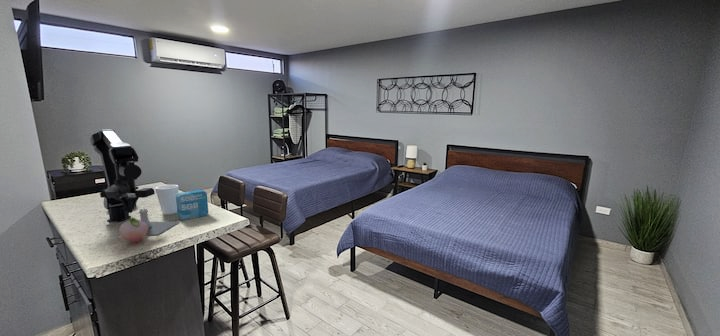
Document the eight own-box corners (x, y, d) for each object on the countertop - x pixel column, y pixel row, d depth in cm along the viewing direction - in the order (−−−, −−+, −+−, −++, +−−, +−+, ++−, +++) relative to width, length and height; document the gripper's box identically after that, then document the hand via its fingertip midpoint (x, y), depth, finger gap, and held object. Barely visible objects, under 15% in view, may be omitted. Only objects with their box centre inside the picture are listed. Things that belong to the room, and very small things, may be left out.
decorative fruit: (116, 244, 111) (112, 218, 110) (141, 236, 118) (138, 212, 117) (127, 250, 107) (123, 223, 105) (153, 241, 113) (150, 216, 112)
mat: (118, 235, 119) (118, 234, 119) (143, 222, 133) (143, 221, 133) (158, 235, 119) (158, 234, 119) (179, 222, 133) (179, 221, 133)
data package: (180, 221, 135) (177, 195, 133) (178, 218, 138) (175, 193, 136) (208, 215, 143) (206, 190, 141) (205, 212, 147) (203, 189, 144)
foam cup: (183, 208, 153) (180, 183, 150) (178, 214, 144) (175, 188, 142) (161, 210, 150) (158, 185, 147) (155, 216, 141) (152, 189, 139)
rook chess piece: (142, 225, 128) (140, 208, 127) (154, 225, 129) (151, 207, 127) (136, 229, 124) (134, 211, 122) (148, 229, 124) (145, 211, 123)
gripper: (84, 180, 114) (91, 219, 117) (133, 180, 114) (138, 219, 117) (109, 174, 125) (114, 210, 128) (153, 174, 125) (157, 210, 128)
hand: (130, 212), depth 125 cm, fingers closed
